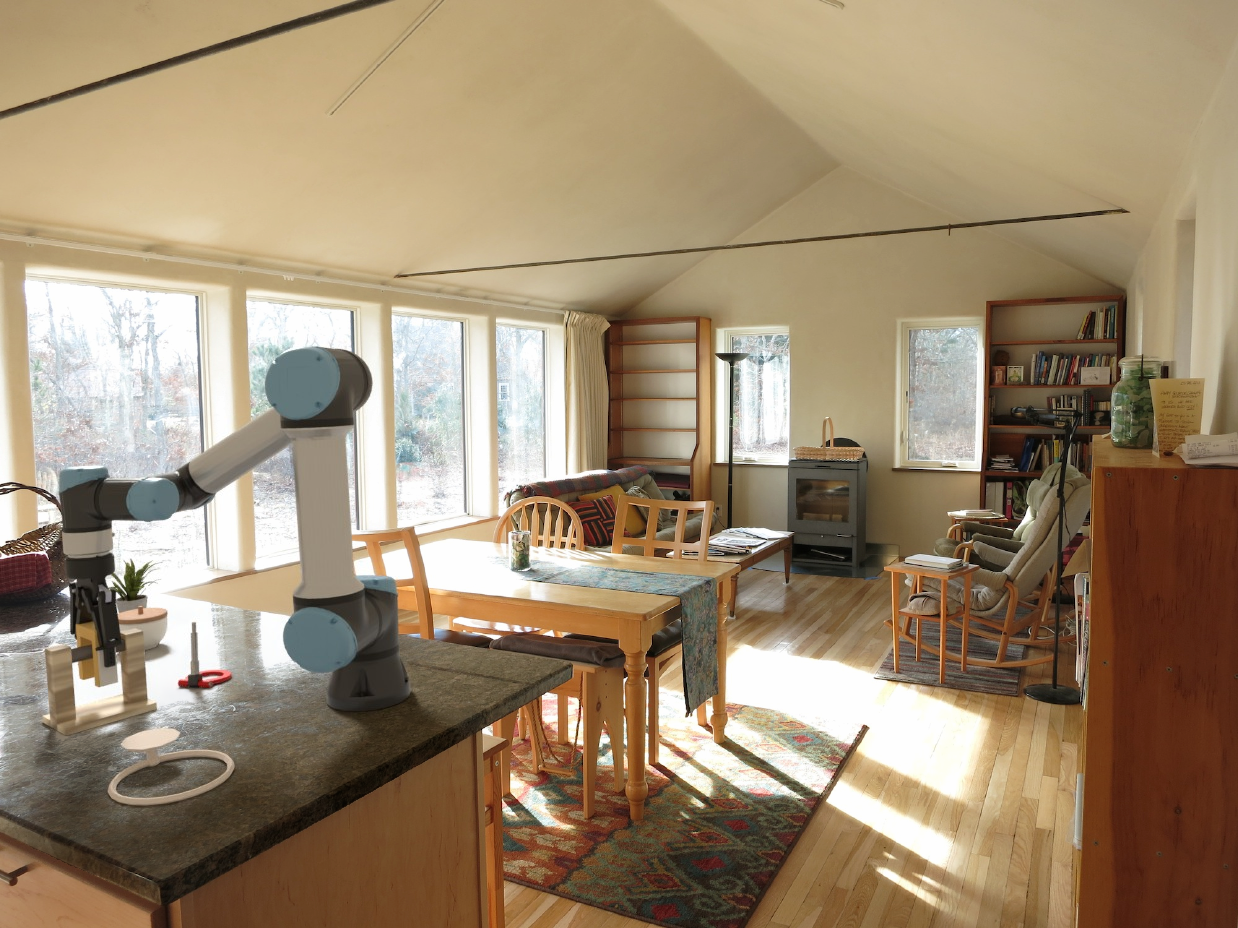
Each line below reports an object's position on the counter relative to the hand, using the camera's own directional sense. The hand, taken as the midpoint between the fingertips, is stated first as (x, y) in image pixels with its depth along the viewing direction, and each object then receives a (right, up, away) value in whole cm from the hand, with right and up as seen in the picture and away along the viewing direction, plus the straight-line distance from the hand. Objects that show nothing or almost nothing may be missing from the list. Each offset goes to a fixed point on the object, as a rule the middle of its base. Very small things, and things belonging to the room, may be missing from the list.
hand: (98, 678), depth 156 cm
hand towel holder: (+25, -9, -24) cm, 36 cm away
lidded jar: (-15, -3, +43) cm, 45 cm away
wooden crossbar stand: (0, -7, +1) cm, 7 cm away
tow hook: (+11, -5, +19) cm, 22 cm away
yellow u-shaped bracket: (0, 0, 0) cm, 0 cm away
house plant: (-28, -2, +64) cm, 70 cm away
